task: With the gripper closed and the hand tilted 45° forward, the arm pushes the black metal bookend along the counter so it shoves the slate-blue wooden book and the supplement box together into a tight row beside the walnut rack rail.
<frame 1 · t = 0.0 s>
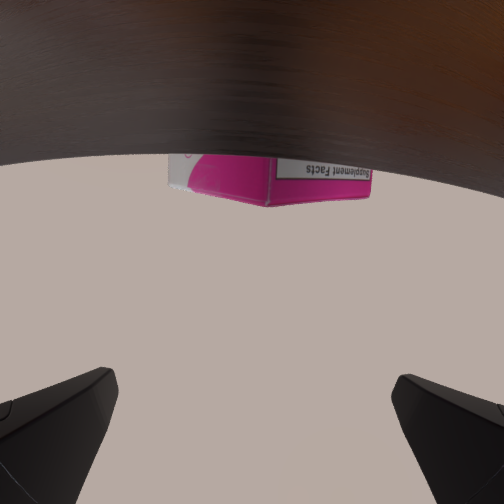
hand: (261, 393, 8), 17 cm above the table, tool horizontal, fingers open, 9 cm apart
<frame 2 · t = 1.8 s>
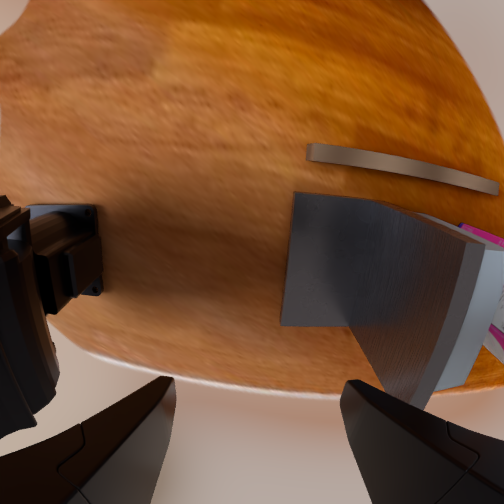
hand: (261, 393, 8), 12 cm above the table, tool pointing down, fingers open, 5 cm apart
rack rail: (411, 168, 18), on the table
supplement box: (453, 267, 21), on the table
book: (402, 265, 20), on the table
bookend: (357, 296, 15), point 5 cm above the table, slide at 0.0 cm
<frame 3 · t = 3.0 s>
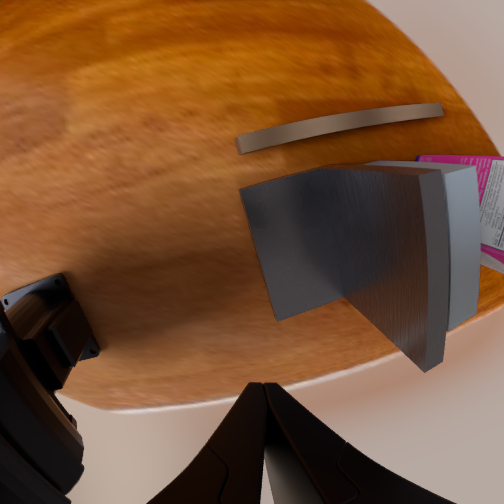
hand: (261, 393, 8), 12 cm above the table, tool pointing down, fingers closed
rack rail: (346, 122, 18), on the table
supplement box: (426, 201, 21), on the table
book: (374, 219, 20), on the table
bookend: (335, 267, 15), point 5 cm above the table, slide at 0.0 cm
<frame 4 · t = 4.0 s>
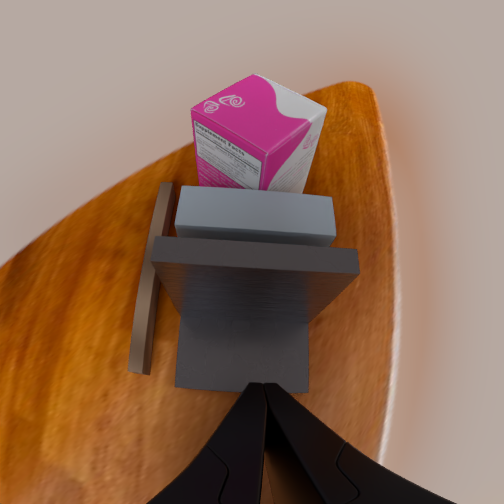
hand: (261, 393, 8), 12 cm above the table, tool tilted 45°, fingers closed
rack rail: (154, 276, 23), on the table
supplement box: (248, 216, 26), on the table
book: (246, 275, 23), on the table
bookend: (248, 336, 16), point 5 cm above the table, slide at 0.0 cm
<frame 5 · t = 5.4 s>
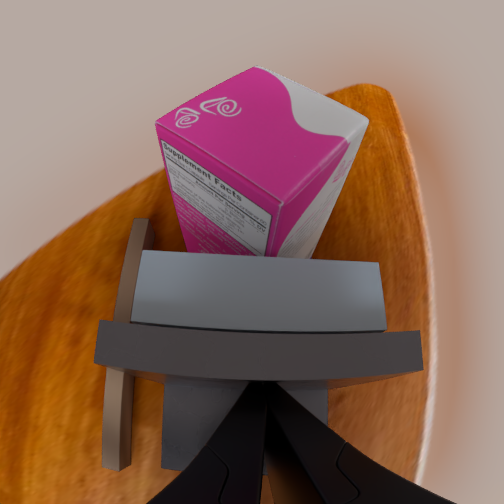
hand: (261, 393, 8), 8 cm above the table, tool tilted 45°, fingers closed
rack rail: (130, 344, 17), on the table
supplement box: (250, 261, 20), on the table
book: (247, 344, 17), on the table
bookend: (251, 432, 11), point 5 cm above the table, slide at 1.0 cm
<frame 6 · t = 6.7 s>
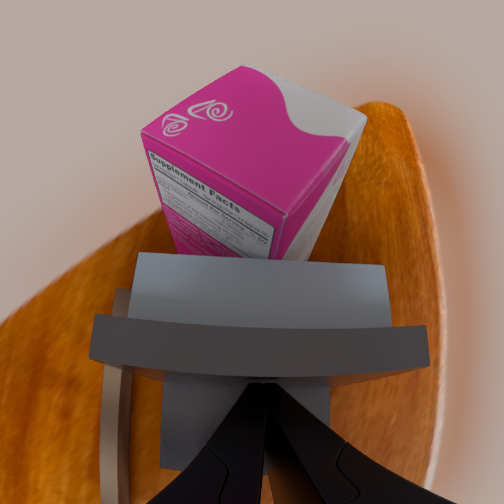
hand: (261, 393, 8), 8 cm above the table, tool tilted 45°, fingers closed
rack rail: (121, 422, 14), on the table
supplement box: (246, 267, 19), on the table
book: (248, 347, 17), on the table
bookend: (252, 431, 10), point 5 cm above the table, slide at 5.9 cm
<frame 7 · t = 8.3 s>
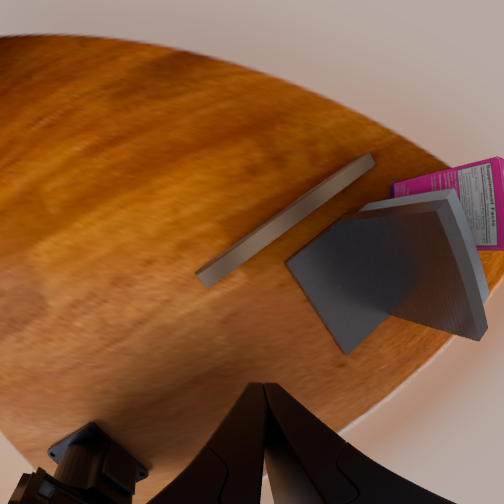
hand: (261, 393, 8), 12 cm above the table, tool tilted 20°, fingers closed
rack rail: (288, 214, 21), on the table
supplement box: (412, 217, 25), on the table
book: (380, 252, 23), on the table
bookend: (387, 295, 18), point 5 cm above the table, slide at 5.9 cm
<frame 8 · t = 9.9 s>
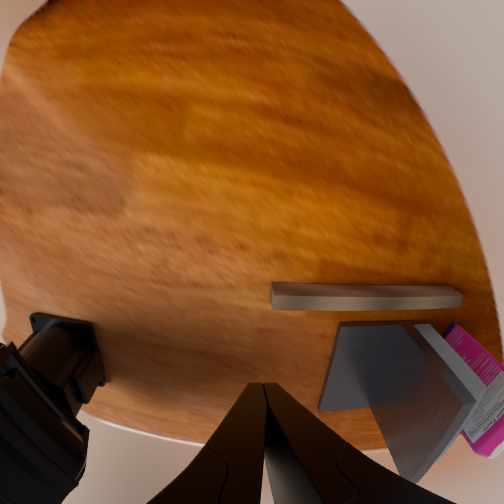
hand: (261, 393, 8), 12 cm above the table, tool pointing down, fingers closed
rack rail: (372, 291, 21), on the table
supplement box: (445, 353, 24), on the table
book: (404, 362, 23), on the table
bookend: (383, 408, 18), point 5 cm above the table, slide at 5.9 cm
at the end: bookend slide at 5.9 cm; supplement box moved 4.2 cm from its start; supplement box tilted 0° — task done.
